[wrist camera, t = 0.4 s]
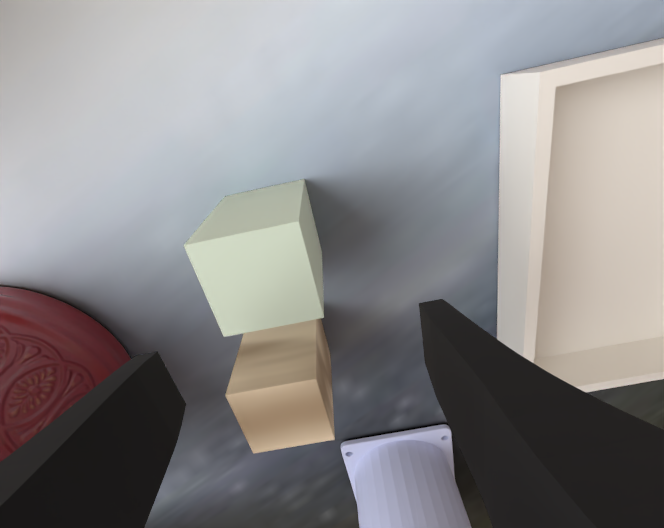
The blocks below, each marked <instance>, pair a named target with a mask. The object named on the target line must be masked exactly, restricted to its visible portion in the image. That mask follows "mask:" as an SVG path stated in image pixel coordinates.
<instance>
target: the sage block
mask: <svg viewBox="0 0 664 528" xmlns="http://www.w3.org/2000/svg"><path fill="white" fill-rule="evenodd" d="M184 248H185V250H186V252H187V254H188V257H189V259H190V261H191V263H192V266H193V268H194V270H195V273H196V275H197V277H198V279H199V282H200V284H201V286H202V288H203V291H204V293H205V295H206V298H207V300H208V302H209V304H210V307H211V309H212V311H213V313H214V316H215V318H216V320H217V323H218V325H219V327H220V329H221V332H222V334H223V336H224V337H227V336H232V335H237V334H242V333H247V332H253V331H258V330H263V329H268V328H273V327H279V326H284V325H289V324H294V323H299V322H304V321H310V320H315V319H320V318H324V299H323V268H322V250H321V246H320V242H319V238H318V233H317V229H316V225H315V221H314V217H313V213H312V209H311V205H310V200H309V196H308V192H307V188H306V184H305V180H304V179H302V180H297V181H292V182H288V183H283V184H279V185H274V186H269V187H265V188H260V189H256V190H251V191H246V192H242V193H237V194H232V195H228V196H225V197H224V198H223V199H222V200H221V201H220V203H219V204H218V205H217V206H216V207H215V209H214V210H213V211H212V212H211V213H210V215H209V216H208V217H207V218H206V219H205V220H204V222H203V223H202V224H201V225H200V226H199V228H198V229H197V230H196V231H195V232H194V234H193V235H192V236H191V237H190V238H189V239H188V241H187V242H186V243H185V244H184Z"/></svg>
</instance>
